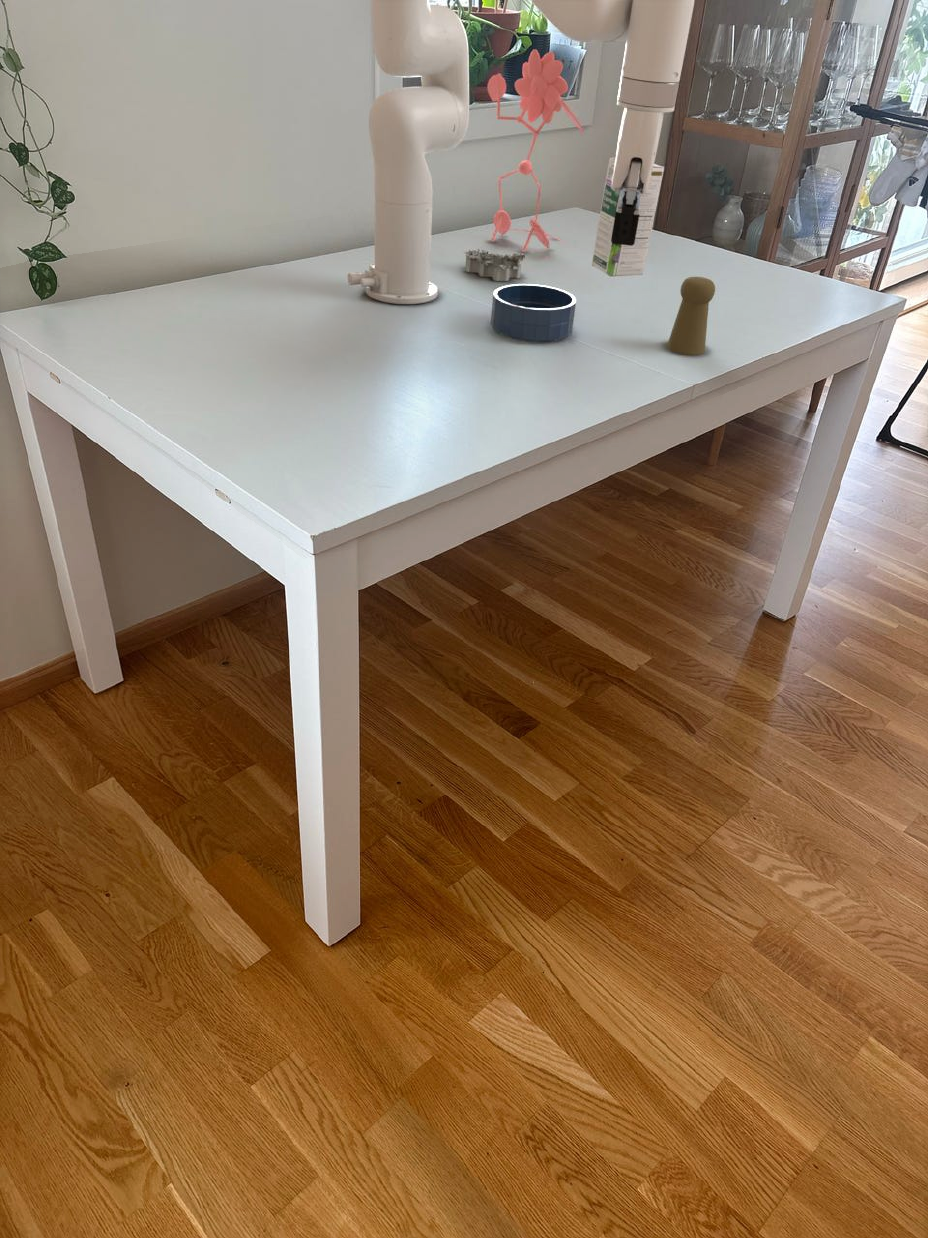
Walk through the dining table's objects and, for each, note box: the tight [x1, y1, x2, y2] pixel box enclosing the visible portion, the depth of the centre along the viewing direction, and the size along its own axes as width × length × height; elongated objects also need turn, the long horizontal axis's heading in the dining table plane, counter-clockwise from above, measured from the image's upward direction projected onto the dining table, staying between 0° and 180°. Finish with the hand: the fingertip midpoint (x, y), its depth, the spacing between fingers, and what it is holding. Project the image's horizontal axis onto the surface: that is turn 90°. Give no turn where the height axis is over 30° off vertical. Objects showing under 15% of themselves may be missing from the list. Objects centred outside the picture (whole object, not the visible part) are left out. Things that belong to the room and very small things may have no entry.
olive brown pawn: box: [666, 276, 716, 356], centre depth 147 cm, size 6×6×11 cm
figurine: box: [486, 48, 585, 259], centre depth 188 cm, size 15×26×35 cm, turn 44°
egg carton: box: [462, 248, 526, 282], centre depth 177 cm, size 11×8×4 cm
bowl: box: [490, 283, 577, 343], centre depth 151 cm, size 13×13×6 cm
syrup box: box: [591, 156, 665, 278], centre depth 130 cm, size 6×6×14 cm
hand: (623, 235), depth 132 cm, fingers closed on syrup box, 7 cm apart
